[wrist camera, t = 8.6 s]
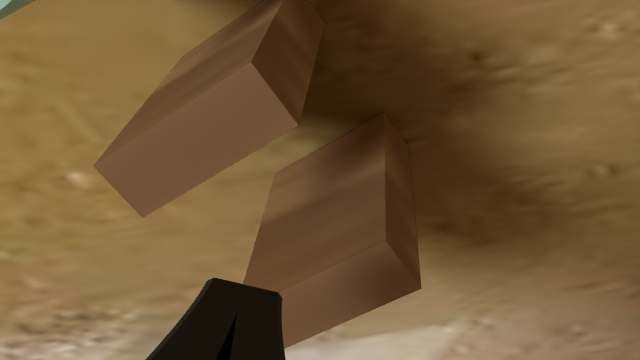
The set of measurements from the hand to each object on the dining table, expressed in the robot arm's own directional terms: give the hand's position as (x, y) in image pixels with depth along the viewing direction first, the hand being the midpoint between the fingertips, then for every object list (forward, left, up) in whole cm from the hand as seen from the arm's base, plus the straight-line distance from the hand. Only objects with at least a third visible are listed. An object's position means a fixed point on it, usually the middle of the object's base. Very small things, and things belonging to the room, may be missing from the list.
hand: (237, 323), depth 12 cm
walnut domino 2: (-2, 0, -10) cm, 10 cm away
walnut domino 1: (+3, 0, -10) cm, 10 cm away
